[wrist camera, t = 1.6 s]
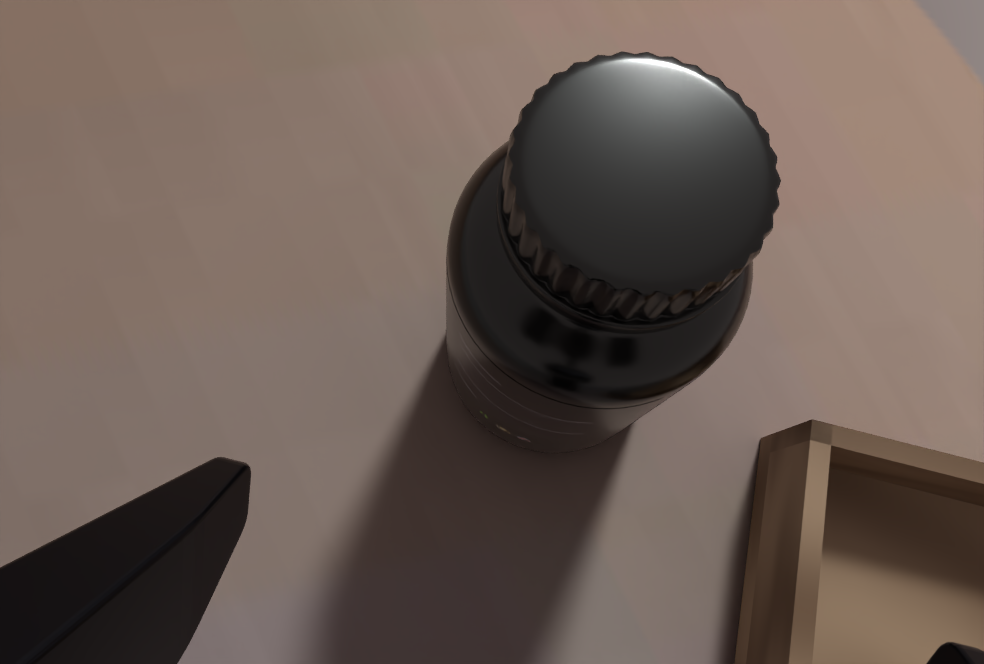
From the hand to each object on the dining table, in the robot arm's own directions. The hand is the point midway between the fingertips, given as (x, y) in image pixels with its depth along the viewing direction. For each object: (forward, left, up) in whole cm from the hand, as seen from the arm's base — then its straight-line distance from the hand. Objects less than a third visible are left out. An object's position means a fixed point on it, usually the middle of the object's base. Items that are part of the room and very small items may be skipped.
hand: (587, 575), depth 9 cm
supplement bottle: (+7, 0, -13) cm, 15 cm away
